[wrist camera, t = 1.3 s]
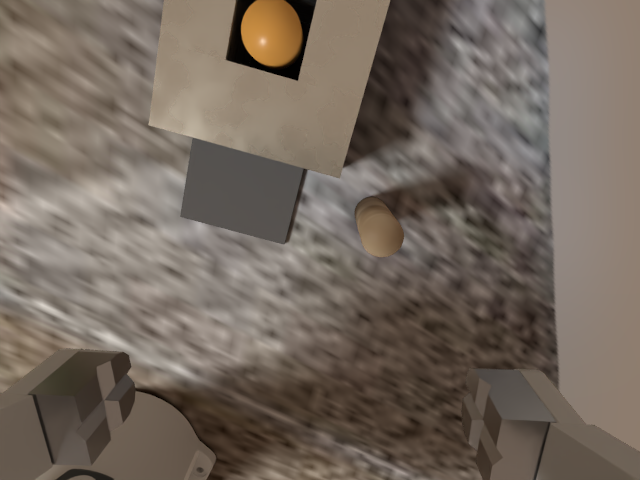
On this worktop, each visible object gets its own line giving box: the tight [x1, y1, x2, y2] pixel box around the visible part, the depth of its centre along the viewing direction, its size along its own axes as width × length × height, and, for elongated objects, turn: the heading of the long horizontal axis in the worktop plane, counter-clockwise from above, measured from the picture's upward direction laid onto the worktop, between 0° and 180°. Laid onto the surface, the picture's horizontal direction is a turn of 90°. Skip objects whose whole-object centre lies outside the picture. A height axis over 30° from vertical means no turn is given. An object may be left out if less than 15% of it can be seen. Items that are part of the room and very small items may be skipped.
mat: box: [180, 138, 304, 244], centre depth 32 cm, size 8×10×1 cm
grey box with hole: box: [149, 0, 390, 178], centre depth 26 cm, size 16×14×6 cm
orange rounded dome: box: [241, 0, 304, 70], centre depth 25 cm, size 4×4×2 cm
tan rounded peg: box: [355, 197, 404, 257], centre depth 29 cm, size 3×3×8 cm
